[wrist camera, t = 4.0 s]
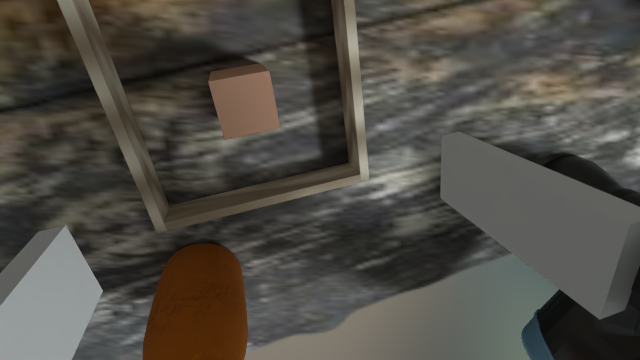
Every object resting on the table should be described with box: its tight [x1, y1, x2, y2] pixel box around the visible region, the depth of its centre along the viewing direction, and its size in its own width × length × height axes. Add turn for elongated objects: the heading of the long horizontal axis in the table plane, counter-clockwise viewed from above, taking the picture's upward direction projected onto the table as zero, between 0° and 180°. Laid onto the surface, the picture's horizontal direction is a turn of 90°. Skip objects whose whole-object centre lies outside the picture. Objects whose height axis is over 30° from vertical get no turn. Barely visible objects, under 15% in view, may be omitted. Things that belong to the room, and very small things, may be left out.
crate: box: [57, 0, 369, 234], centre depth 34 cm, size 24×24×4 cm
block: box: [208, 63, 280, 140], centre depth 32 cm, size 5×5×8 cm
